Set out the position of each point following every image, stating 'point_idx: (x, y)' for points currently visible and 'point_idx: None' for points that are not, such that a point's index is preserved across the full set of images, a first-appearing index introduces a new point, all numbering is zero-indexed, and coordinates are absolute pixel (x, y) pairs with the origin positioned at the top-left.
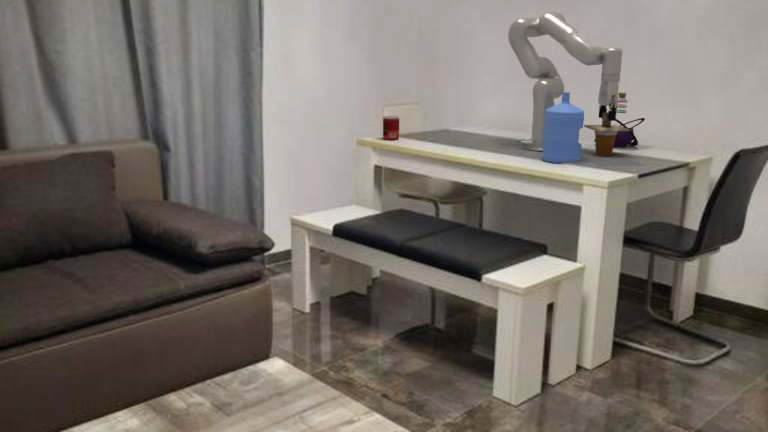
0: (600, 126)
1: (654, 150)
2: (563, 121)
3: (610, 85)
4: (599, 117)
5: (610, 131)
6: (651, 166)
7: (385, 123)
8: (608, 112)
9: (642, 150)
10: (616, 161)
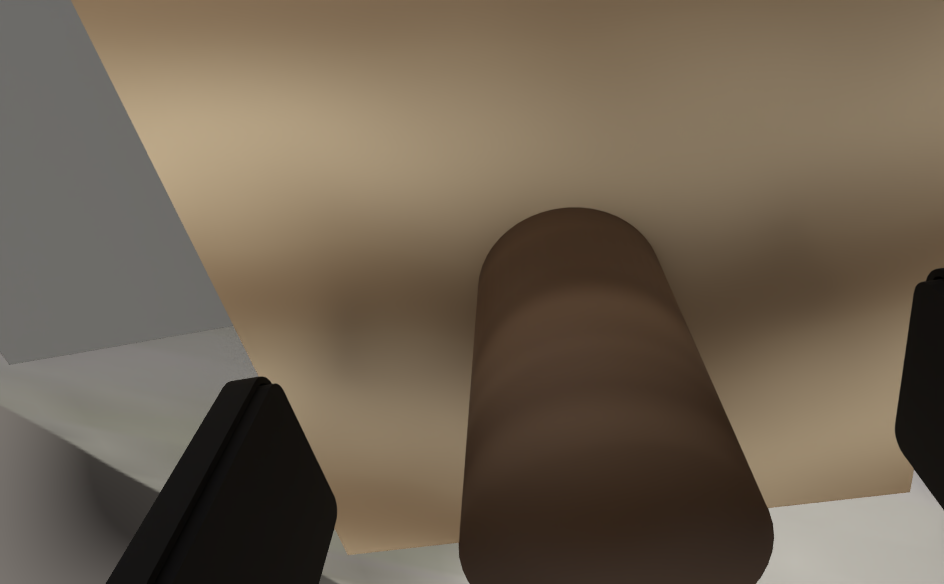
0: (653, 190)
1: (900, 581)
2: None
3: None
4: (935, 277)
5: None
6: (129, 413)
7: None
8: (150, 560)
9: (915, 514)
10: (97, 173)
